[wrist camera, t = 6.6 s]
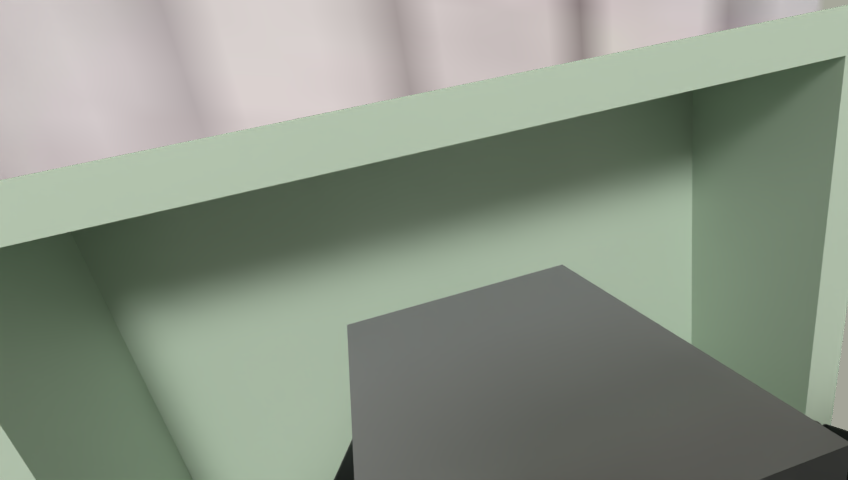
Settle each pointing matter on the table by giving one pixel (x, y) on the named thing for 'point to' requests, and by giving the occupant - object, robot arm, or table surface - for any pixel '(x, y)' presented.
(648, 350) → the stone block
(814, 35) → the green bin
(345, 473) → the robot arm
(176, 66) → the table surface
